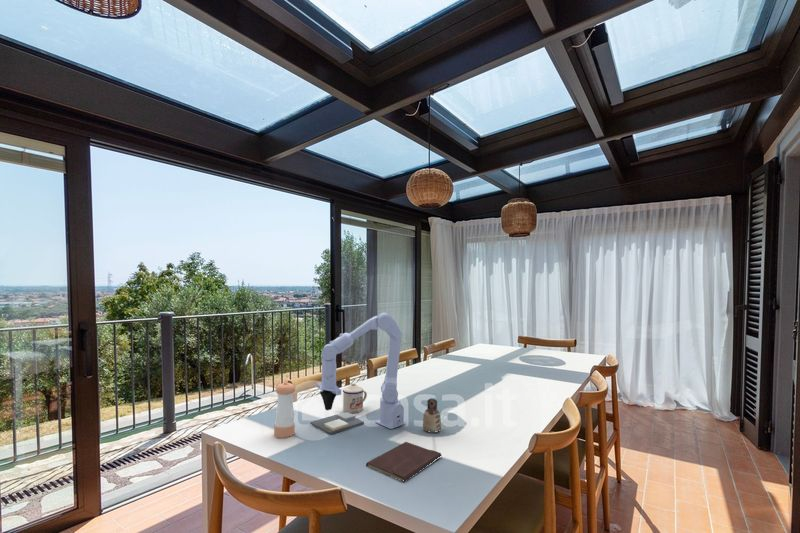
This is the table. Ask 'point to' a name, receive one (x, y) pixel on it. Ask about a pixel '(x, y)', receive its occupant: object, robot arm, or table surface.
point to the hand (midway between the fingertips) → (328, 409)
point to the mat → (320, 422)
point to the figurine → (431, 417)
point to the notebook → (403, 461)
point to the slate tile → (345, 416)
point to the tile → (336, 425)
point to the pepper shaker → (284, 411)
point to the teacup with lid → (353, 398)
